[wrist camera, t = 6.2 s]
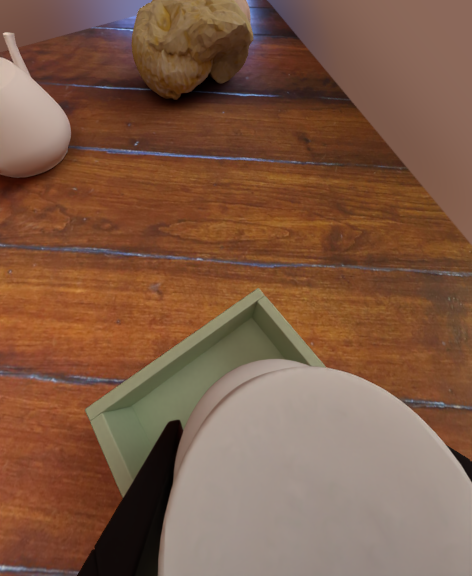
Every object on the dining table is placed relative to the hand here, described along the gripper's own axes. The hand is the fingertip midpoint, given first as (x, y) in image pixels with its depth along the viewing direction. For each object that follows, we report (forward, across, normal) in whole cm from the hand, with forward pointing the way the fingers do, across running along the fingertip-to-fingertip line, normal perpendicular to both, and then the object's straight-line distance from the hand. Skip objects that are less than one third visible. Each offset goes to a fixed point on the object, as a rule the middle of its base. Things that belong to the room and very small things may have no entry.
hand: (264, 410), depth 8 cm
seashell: (+40, 0, -26) cm, 47 cm away
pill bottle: (+4, 0, +6) cm, 7 cm away
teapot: (+31, +22, -16) cm, 42 cm away
